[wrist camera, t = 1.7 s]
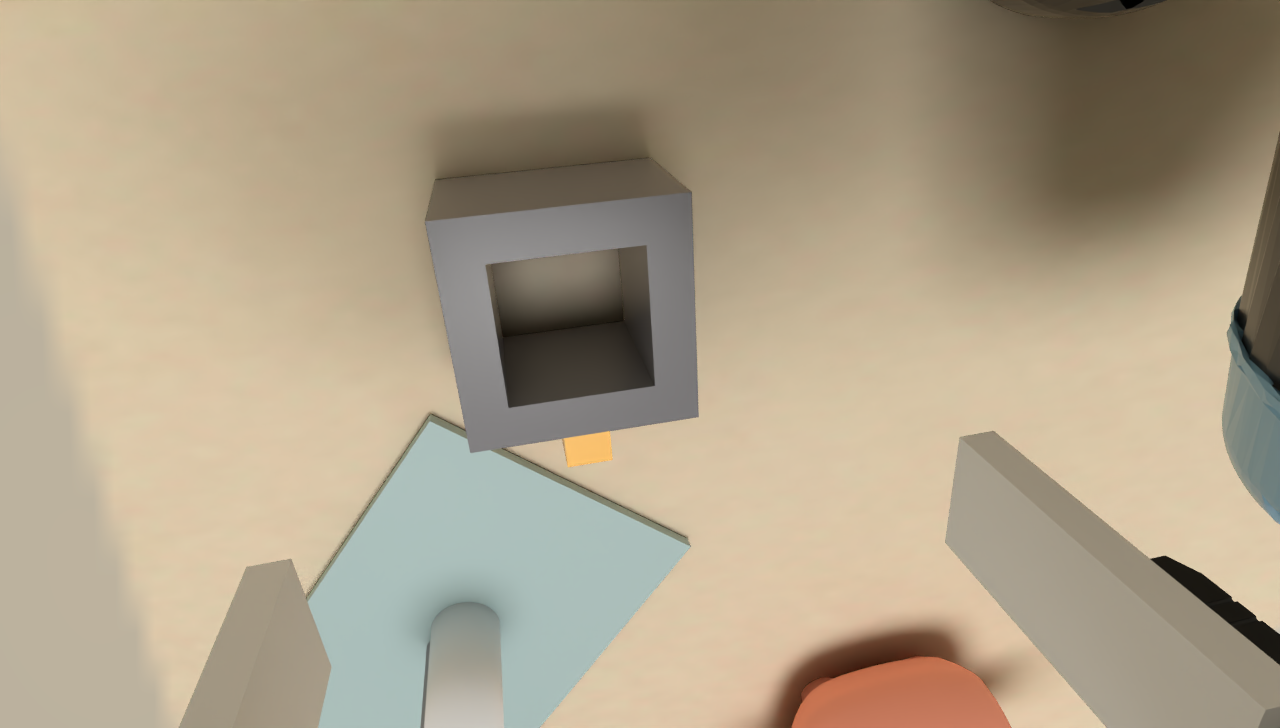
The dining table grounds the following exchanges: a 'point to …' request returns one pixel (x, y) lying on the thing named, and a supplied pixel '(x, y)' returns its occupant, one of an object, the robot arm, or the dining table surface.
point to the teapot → (901, 698)
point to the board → (477, 590)
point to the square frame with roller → (582, 356)
